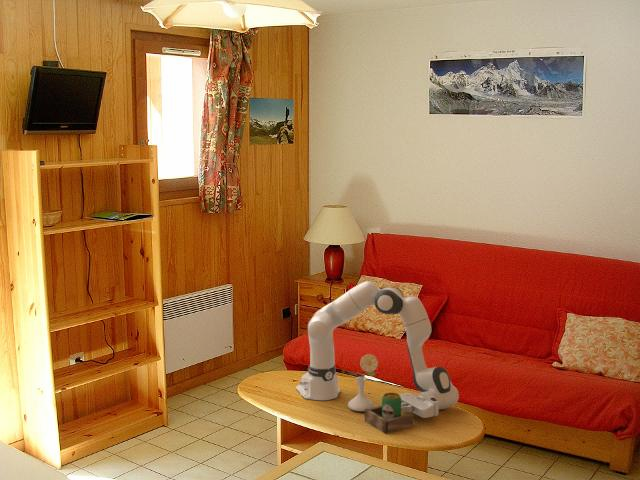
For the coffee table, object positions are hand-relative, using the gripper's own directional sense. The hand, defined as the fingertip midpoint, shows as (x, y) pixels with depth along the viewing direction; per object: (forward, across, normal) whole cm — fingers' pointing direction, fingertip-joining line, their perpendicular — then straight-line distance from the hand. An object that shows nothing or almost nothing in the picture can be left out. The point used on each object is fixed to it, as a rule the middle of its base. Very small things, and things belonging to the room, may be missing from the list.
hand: (399, 408), depth 317 cm
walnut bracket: (+5, 0, +6) cm, 8 cm away
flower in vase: (+6, -19, +6) cm, 21 cm away
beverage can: (+4, 0, +6) cm, 7 cm away
